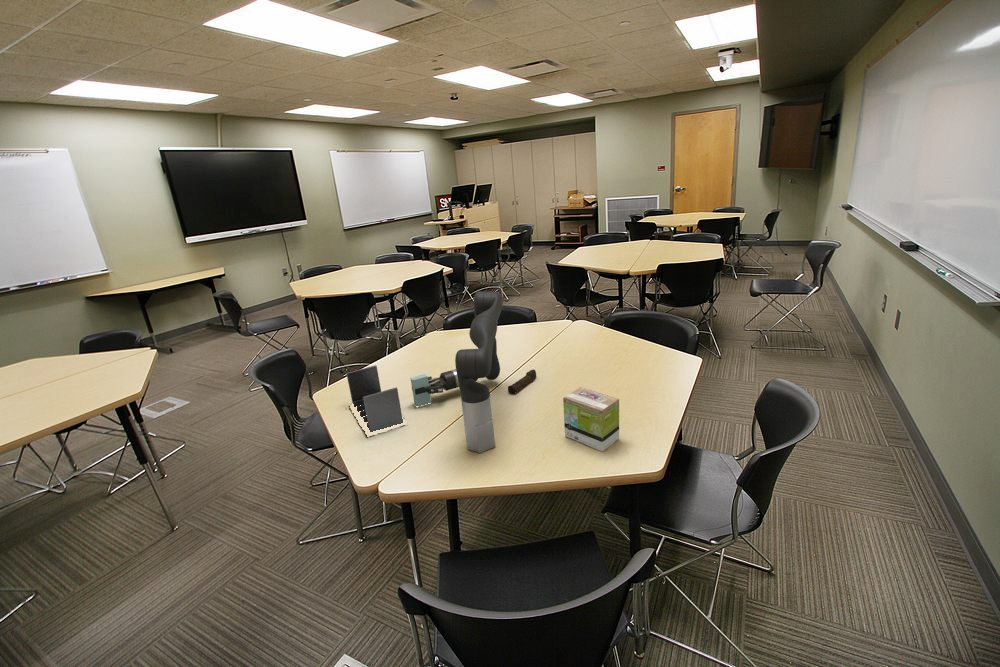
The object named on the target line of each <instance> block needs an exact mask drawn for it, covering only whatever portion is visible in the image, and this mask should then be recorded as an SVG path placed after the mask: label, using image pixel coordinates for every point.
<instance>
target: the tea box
mask: <svg viewBox="0 0 1000 667" xmlns="http://www.w3.org/2000/svg"><path fill="white" fill-rule="evenodd" d="M562 400H563V401H562V402H563V404H562V406H563V419H564V420H563V422H564V425H563V426H564V436H565V437H567V438H569V439H570V440H571V439H572V440H574V441H577V442H578V443H581V444H583V445H586V446H588V447H590V448H593V449H595V450H598V451H599V452H604V451H606V450H607V449H608V448H609V447H610V446H612V445H613V444H614V443H615V442H617V441H618V440H619V439H620V399H619V398H616V397H613V396H611V395H607V394H604V393H601V392H597V391H595V390H591V389H588V388H586V387H581V386H580V387H578V388H577V389H576V390H574V391H572V392H570V393H569V394H567V395H566V396H564V397H563V398H562Z"/></svg>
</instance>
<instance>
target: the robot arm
mask: <svg viewBox="0 0 1000 667" xmlns="http://www.w3.org/2000/svg"><path fill="white" fill-rule="evenodd" d="M503 305H504V304H503V295H502V294H501V293H500V292H497V291H476V292H475V294H474V296H473V312H474V317H473V319H472V322H471V324H470V328H469V333H468V335H469V338H470V340H471V342H472V344H473V345H474V346H475V347H476V348H468V349H467V348H465V349H463V348H462V349H459V350H457V351H456V353H455V359H454V360H455V362H454V363H455V364H454V365H455V369H451V370H447V371H444V372H441V373H440V375H439V377H433V376H428V383H429V385H427V386H425V387H421V388H418V389H415V394H416V395H418V394H421V393H428V394H430V395H433V394H440V393H444V391H445V392H446V391H451V390H454V389H457V388H458V389H459V393H460V401H461V409H462V410H461V411H462V418H463V427H464V434H465V441H466V448H467V449H468V450H470V451H471V452H476V453H478V454H481V453H484V452H486V451H488V450H491V449H493V448H495V447H496V440H495V438H496V437H495V431H494V429H495V428H494V421H493V415H492V414H493V413H492V404H491V402H492V401H491V394H490V388H489V387H488V385H486V384H485V383H482V382H479V381H478V380H479V379H484V378H486V379H487V380H490V381H494V380H496V379H498V377H499V376H500V373H501V365H500V361H499V358H498V354H497V352H498V350H497V346H498V344H497V343H498V342H497V338H496V336H497V333H498V332H497V331H498V324H499V320H500V316H501V314H502V309H503Z"/></svg>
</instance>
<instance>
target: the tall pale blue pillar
mask: <svg viewBox="0 0 1000 667" xmlns="http://www.w3.org/2000/svg"><path fill="white" fill-rule="evenodd" d="M428 377H429V376H428V375H427V374H425V373H423V374H420V375H417V376H413V377H410V379H409V380H410V384H411V391H412V396H413V402H414V406H415V405H416V406H421V405H425V404H428V403H431V404H432V399H431V398H432V397H431V394H428V393H421V394H418V395H416V394H415V389H418V388H421V387H425V386H427V385H429V383H428ZM416 406H415V407H416Z"/></svg>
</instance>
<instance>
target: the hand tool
mask: <svg viewBox="0 0 1000 667" xmlns="http://www.w3.org/2000/svg"><path fill="white" fill-rule="evenodd" d="M536 379H537V371H536V370H535V369H531V370H528V371H527V372H526V373H525V376H522V378H520V379H519V380H517V381H515V382H514V383H513V384H511V385H508V386H507V392H508V393H509V394H510V395H516V394H517V393H518V392H519V391H520V390H522V389H523V388H524V387H526V386H527V385H528V384H530V383H531V382H532V383H533V382H535V381H536ZM532 383H531V384H532Z"/></svg>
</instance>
